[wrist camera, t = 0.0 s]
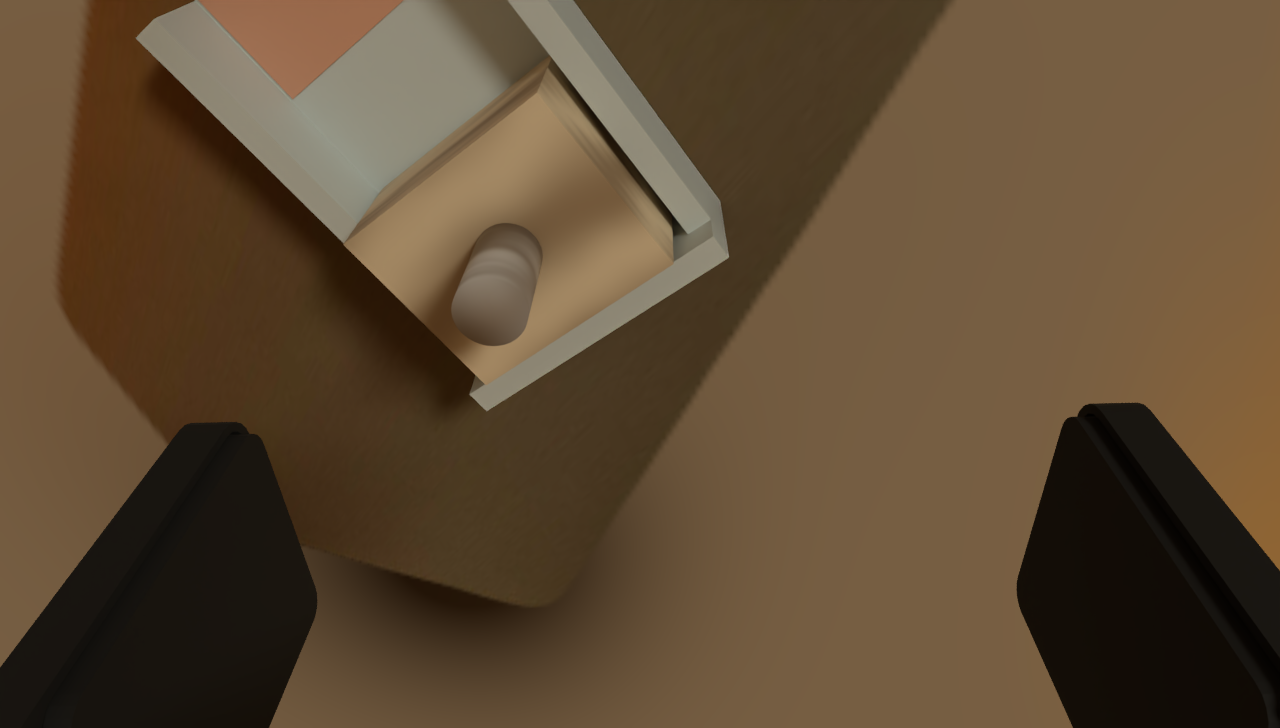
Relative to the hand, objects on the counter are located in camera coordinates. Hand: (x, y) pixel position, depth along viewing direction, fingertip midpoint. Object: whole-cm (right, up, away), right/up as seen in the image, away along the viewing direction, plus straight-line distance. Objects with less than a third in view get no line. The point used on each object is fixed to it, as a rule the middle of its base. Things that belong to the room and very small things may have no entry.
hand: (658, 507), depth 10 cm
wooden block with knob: (-6, +11, +36) cm, 38 cm away
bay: (-9, +15, +35) cm, 39 cm away
